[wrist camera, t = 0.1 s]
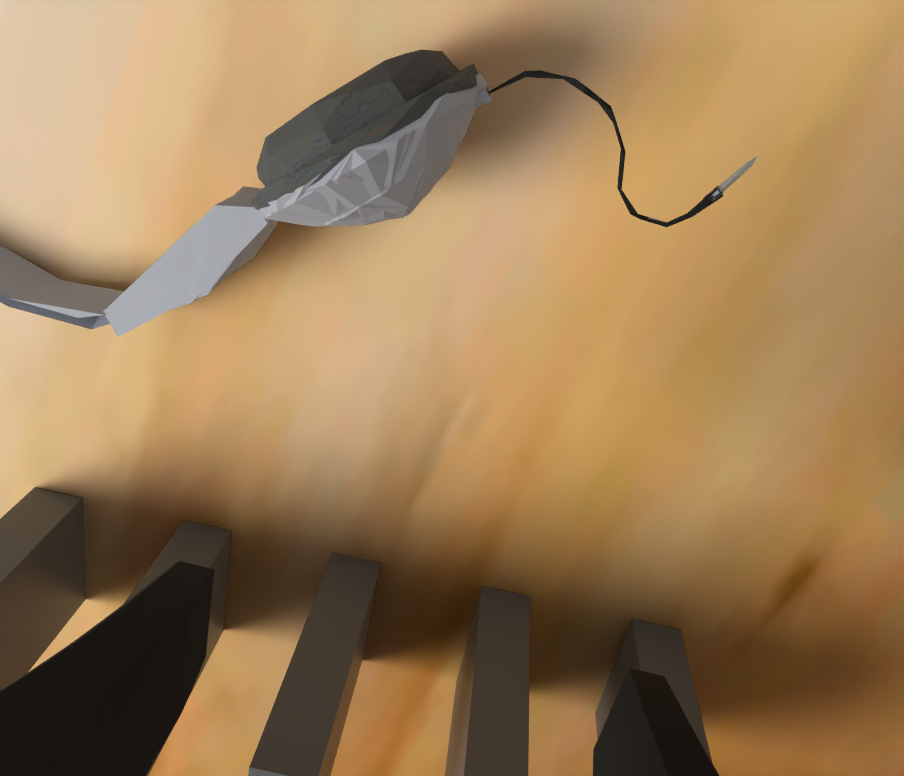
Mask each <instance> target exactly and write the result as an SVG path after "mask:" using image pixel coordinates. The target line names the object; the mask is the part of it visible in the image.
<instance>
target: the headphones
mask: <svg viewBox="0 0 904 776" xmlns="http://www.w3.org/2000/svg"><path fill="white" fill-rule="evenodd" d="M524 77H534V78H554V79H564V80H566V81H567V82H568V83H570V84H571V85H573V86H574V87H576V88H577V89H579V90H580V91H582V92H583V93H585V94H586V95H588V96H589V97H591V98H592V99H594V100H595V101H597V102H598V103H599V104H600V105H601V107H602V108H603V109H604V111H605V112H606V114H607V115H608V116H609V118H610V119H611V120H612V122H613V124H614V127H615V130H616V134H617V137H618V140H619V144H620V147H621V153H620V165H619V176H618V190H619V192H620V194H621V197H622V199H623V201H624V203H625V204H626V206H627V208H628V210H629V212H630V214H631V215H633V216H635V217H637V218H639V219H641V220H645V221H648V222H651V223H655V224H658V225H661V226H664V227H668V226H671V225H673V224H676V223H678V222H681V221H683V220H686V219H688V218H691V217H693V216H694V215H696V214H697V213H699V212H700V211H702V210H703V209H705V208H706V207H708V206H709V205H711V204H712V203H714V202H715V201H717V200H718V199H720V198H721V197H723V192H724V191H725V190H726V189H727V188H728V187H729V186H730V185H731V184H732V183H733V182H734V181H736V180H737V179H738V178H739V177H740V176H741V175H742V174H743V173H744V172H746V171H747V170H748V169H749V168H750V167H751V166H752V164H753V163H754V161H755V159H756V158H757V157H756V158H754V159H752V160H750V161H749V162H747V163H746V164H745V165H743V166H742V167H741V168H740V169H739V170H737V171H736V172H735V173H734V174H732V175H731V176H730V177H729V178H728V179H726V180H725V181H724V182H723V183H722V184H720V185H719V186H717V187H716V188H714V189H713V190H712V191H711V192H710V193H709V194H708V195H706V196H705V197H704V198H703V200H702V201H701V202H700V203H698V204H697V205H696V206H695V207H694V208H693V209H692V210H690V211H689V212H688V213H687V214H685V215H683V216H680V217H678V218H676V219H674V220H672V221H669V222H663V221H660V220H656V219H653V218H650V217H646V216H643V215H639V214H637V212H636V211H635V209H634V208H633V206H632V205H631V203H630V202H629V200H628V199H627V197H626V196H625V194H624V193H623V191H622V190H621V189H622V179H623V170H624V160H625V149H624V145H623V142H622V139H621V136H620V132H619V129H618V126H617V123H616V120H615V116H614V113H613V111H612V108H611V106H610V105H609V104H607V103H606V102H605V101H604V100H602V99H601V98H600V97H598V96H597V95H596V94H595V93H593V92H592V91H591V90H590V89H588V88H587V87H586V86H584V85H583V84H582V83H580V82H579V81H578V80H576V79H574V78H570V77H566V76H561V75H557V74H553V73H548V72H544V71H540V70H539V71H524V72H522V73H521V74H519V75H517V76H515V77H514V78H512V79H510V80H508V81H507V82H505V83H503V84H501V85H500V86H498V87H496V88H494V89H493V90H491V91H489V88H488V87H487V85H488V84H487V82H486V81H485V79H484V78H483V76H482V74H481V73H478V74H477V71H476V69H475V66H474V64H473V65H470V66H468V67H466V68H464V69H463V70H461V71H459V70H458V69H457V68H456V67H455V65H454V64H453V63H452V62H451V61H450V60H449V59H448V58H447V57H446V55H445V54H444V53H443V52H442V51H430V50H419V51H415V52H410V53H406V54H403V55H400V56H397V57H394V58H391V59H388V60H385V61H384V62H382V63H380V64H379V65H377V66H375V67H374V68H372V69H370V70H369V71H367V72H365V73H364V74H362V75H360V76H359V77H357V78H355V79H354V80H352V81H350V82H349V83H347V84H345V85H344V86H342V87H340V88H339V89H337V90H335V91H334V92H332V93H330V94H329V95H327V96H325V97H324V98H322V99H320V100H319V101H317V102H315V103H314V104H312V105H310V106H309V107H308V108H306V109H305V110H303V111H302V112H301V113H299V114H298V115H296V116H295V117H294V118H292V119H291V120H290V121H288V122H287V123H285V124H284V125H283V126H281V127H280V128H278V129H277V130H276V131H274V132H273V133H271V134H270V135H269V136H267V137H266V138H265V141H264V145H263V148H262V152H261V155H260V158H259V162H258V165H257V173H258V178H259V179H260V180H261V182H262V183H263V184H264V185H265V186H266V187H265V188H263V189H260V188H252V187H244V186H243V187H242V188H241V189H240V190H239V191H238V192H237V193H236V194H235V195H234V196H232V197H230V198H228V199H226V200H224V201H222V202H220V203H218V204H216V205H215V206H214V207H213V208H212V209H211V210H209V211H208V212H207V213H206V214H205V215H204V216H203V217H202V218H201V219H200V220H199V221H198V222H197V223H196V224H195V225H194V226H193V227H192V228H191V229H189V230H188V231H187V232H186V233H185V234H184V235H183V236H182V237H181V238H180V239H179V240H178V241H177V242H176V243H175V244H174V245H173V246H172V247H171V248H169V249H168V250H167V251H166V252H165V253H164V254H163V255H162V256H161V257H160V258H159V259H158V260H157V261H156V262H155V263H154V264H153V265H152V266H151V267H149V268H148V269H147V270H146V271H145V272H144V273H143V274H142V275H141V276H140V277H139V278H138V279H137V280H136V281H135V282H134V283H133V284H132V285H131V286H129V287H128V288H127V289H126V290H125V291H120V290H114V289H109V288H103V287H97V286H91V285H86V284H80V283H74V282H68V281H63V280H60V279H59V278H57V277H55V276H54V275H52V274H50V273H48V272H47V271H45V270H43V269H41V268H40V267H38V266H36V265H35V264H33V263H31V262H29V261H28V260H26V259H24V258H23V257H21V256H19V255H17V254H16V253H14V252H12V251H10V250H9V249H7V248H5V247H3V246H1V245H0V302H1V303H3V304H5V305H7V306H9V307H12V308H16V309H20V310H23V311H27V312H31V313H34V314H38V315H41V316H45V317H49V318H52V319H56V320H60V321H63V322H67V323H71V324H74V325H78V326H82V327H85V328H89V329H94V328H97V327H100V326H104V325H107V324H111V326H112V328H113V329H114V331H115V332H116V334H117V336H118V337H119V336H120V335H122V334H124V333H126V332H128V331H130V330H132V329H134V328H136V327H138V326H140V325H142V324H144V323H145V322H147V321H149V320H151V319H153V318H155V317H157V316H159V315H161V314H163V313H165V312H167V311H169V310H172V309H175V308H178V307H180V306H183V305H186V304H189V303H192V302H193V301H195V300H196V299H197V298H200V297H203V296H206V295H208V294H209V293H210V292H211V291H212V290H213V289H214V288H215V287H216V286H217V285H218V284H219V283H220V282H221V281H222V280H224V279H225V278H226V277H228V276H229V275H231V274H232V273H233V272H235V271H236V270H237V269H239V268H240V267H242V266H243V265H244V264H246V263H247V262H249V261H250V260H251V259H253V258H254V257H255V256H256V254H257V253H258V251H259V250H260V248H261V247H262V246H263V244H264V243H265V241H266V240H267V238H268V237H269V235H270V234H271V233H272V231H273V230H274V228H275V227H276V225H277V224H278V222H279V221H282V222H288V223H293V224H299V225H307V226H317V227H324V226H353V225H368V224H372V223H376V222H380V221H384V220H388V219H398V218H404V217H405V216H406V215H409V214H410V213H411V212H412V211H413V210H414V208H415V207H416V206H417V205H418V204H419V203H420V201H421V200H422V199H423V198H424V197H425V196H426V195H427V194H428V193H429V192H430V191H431V190H432V188H433V187H434V185H435V184H436V183H437V182H438V180H439V179H440V178H441V177H442V176H443V175H444V174H445V172H446V171H447V170H448V169H449V167H450V165H451V163H452V161H453V159H454V157H455V154H456V152H457V150H458V148H459V146H460V144H461V143H462V141H463V138H464V136H465V134H466V133H467V130H468V127H469V125H470V122H471V120H472V118H473V115H474V113H475V111H476V109H477V107H479V106H482V105H485V104H487V103H490V102H492V98H491V95H490V93H492V92H494V91H496V90H498V89H501V88H503V87H505V86H507V85H509V84H511V83H514V82H516V81H518V80H520V79H522V78H524Z"/></svg>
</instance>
